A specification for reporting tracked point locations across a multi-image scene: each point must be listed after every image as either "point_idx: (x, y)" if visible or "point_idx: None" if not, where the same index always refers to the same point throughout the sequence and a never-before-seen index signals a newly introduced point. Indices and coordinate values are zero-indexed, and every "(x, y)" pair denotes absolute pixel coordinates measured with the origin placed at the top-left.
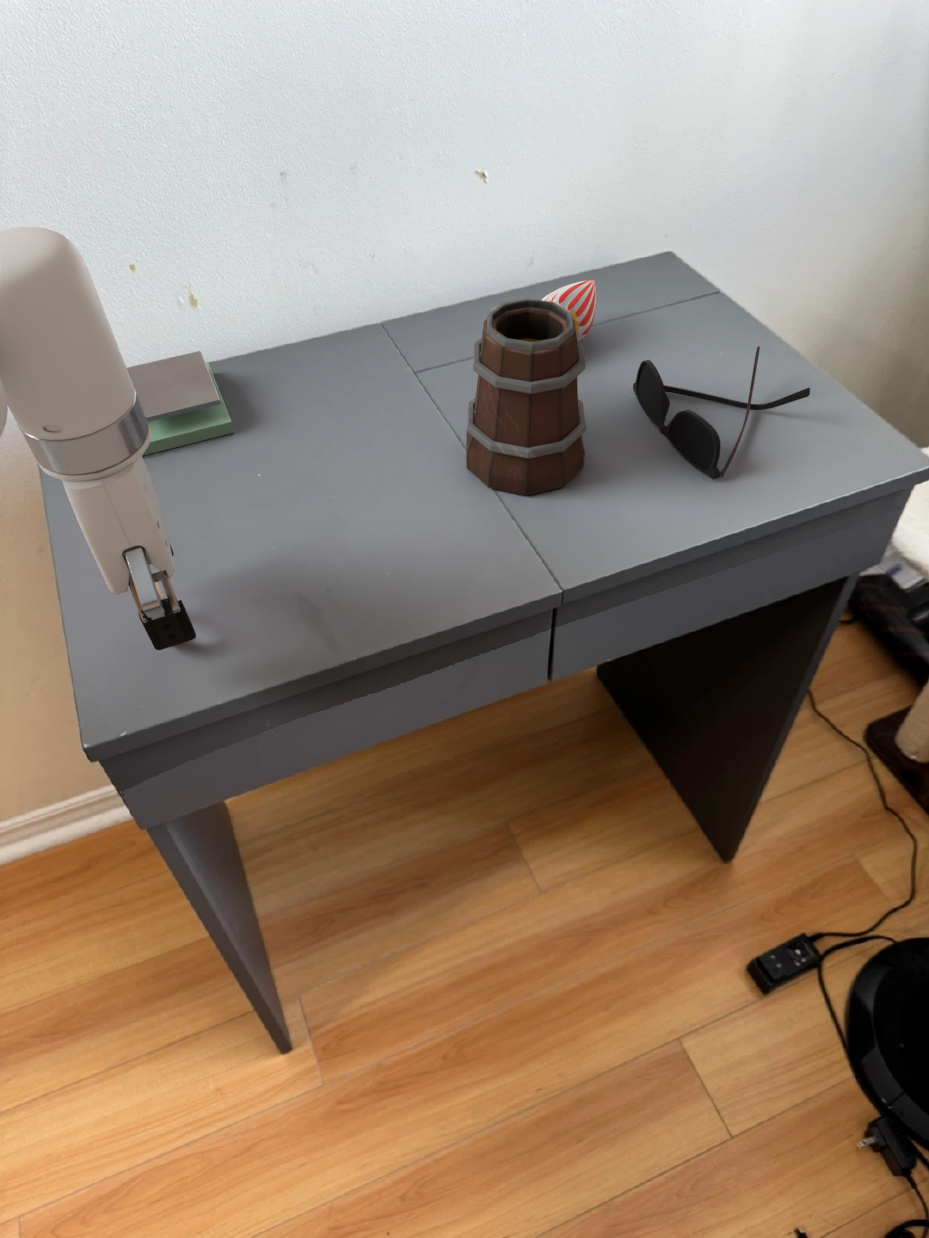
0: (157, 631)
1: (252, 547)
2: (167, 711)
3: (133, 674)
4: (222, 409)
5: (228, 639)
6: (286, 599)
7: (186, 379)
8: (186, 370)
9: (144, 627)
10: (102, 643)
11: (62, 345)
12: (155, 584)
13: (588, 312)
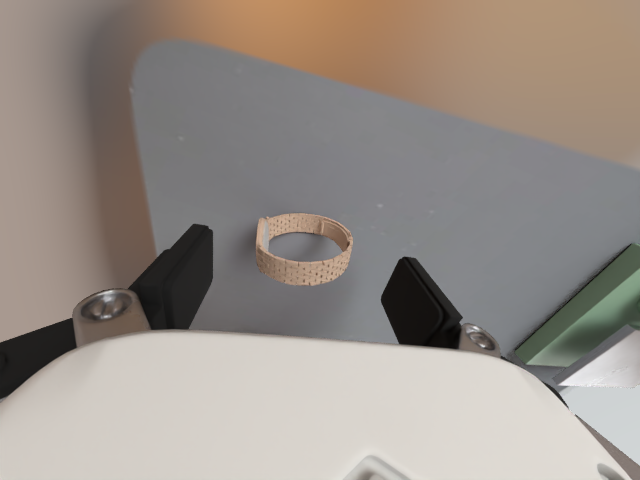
0: (141, 275)
1: (367, 324)
2: (156, 168)
3: (254, 151)
4: (547, 363)
5: (253, 270)
6: (278, 326)
7: (619, 372)
8: (629, 375)
9: (161, 259)
10: (345, 131)
11: None
12: (327, 278)
13: None
